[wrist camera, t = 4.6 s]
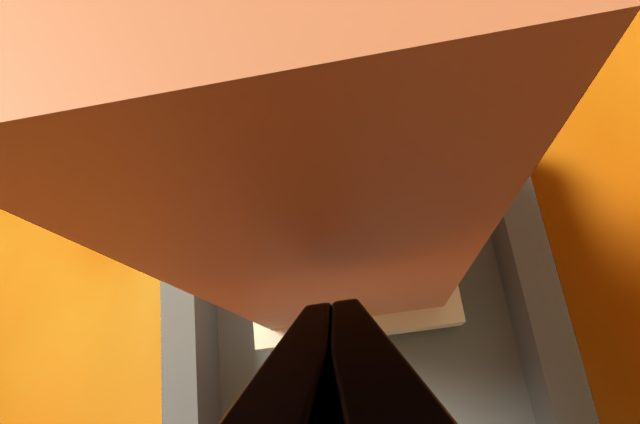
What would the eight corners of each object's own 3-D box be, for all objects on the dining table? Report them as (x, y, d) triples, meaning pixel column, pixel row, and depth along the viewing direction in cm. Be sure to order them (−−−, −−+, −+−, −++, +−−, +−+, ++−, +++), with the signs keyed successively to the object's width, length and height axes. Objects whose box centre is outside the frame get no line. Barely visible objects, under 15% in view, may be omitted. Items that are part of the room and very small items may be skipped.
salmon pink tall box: (461, 325, 15) (770, 61, 3) (263, 351, 15) (-223, 229, 3) (423, 144, 17) (504, -474, 5) (249, 173, 17) (-82, -316, 5)
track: (716, 1020, 11) (831, 1243, 8) (222, 1026, 12) (170, 1226, 9) (442, -45, 21) (450, -111, 18) (187, 5, 22) (157, -50, 19)
